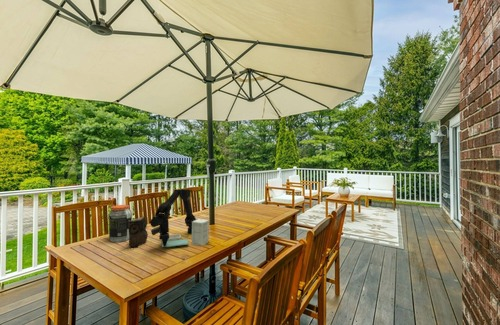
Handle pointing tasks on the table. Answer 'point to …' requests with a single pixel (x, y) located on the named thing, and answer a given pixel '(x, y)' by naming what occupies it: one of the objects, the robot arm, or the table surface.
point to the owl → (137, 232)
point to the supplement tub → (119, 223)
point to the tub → (171, 237)
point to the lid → (176, 243)
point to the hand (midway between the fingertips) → (164, 245)
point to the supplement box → (200, 232)
